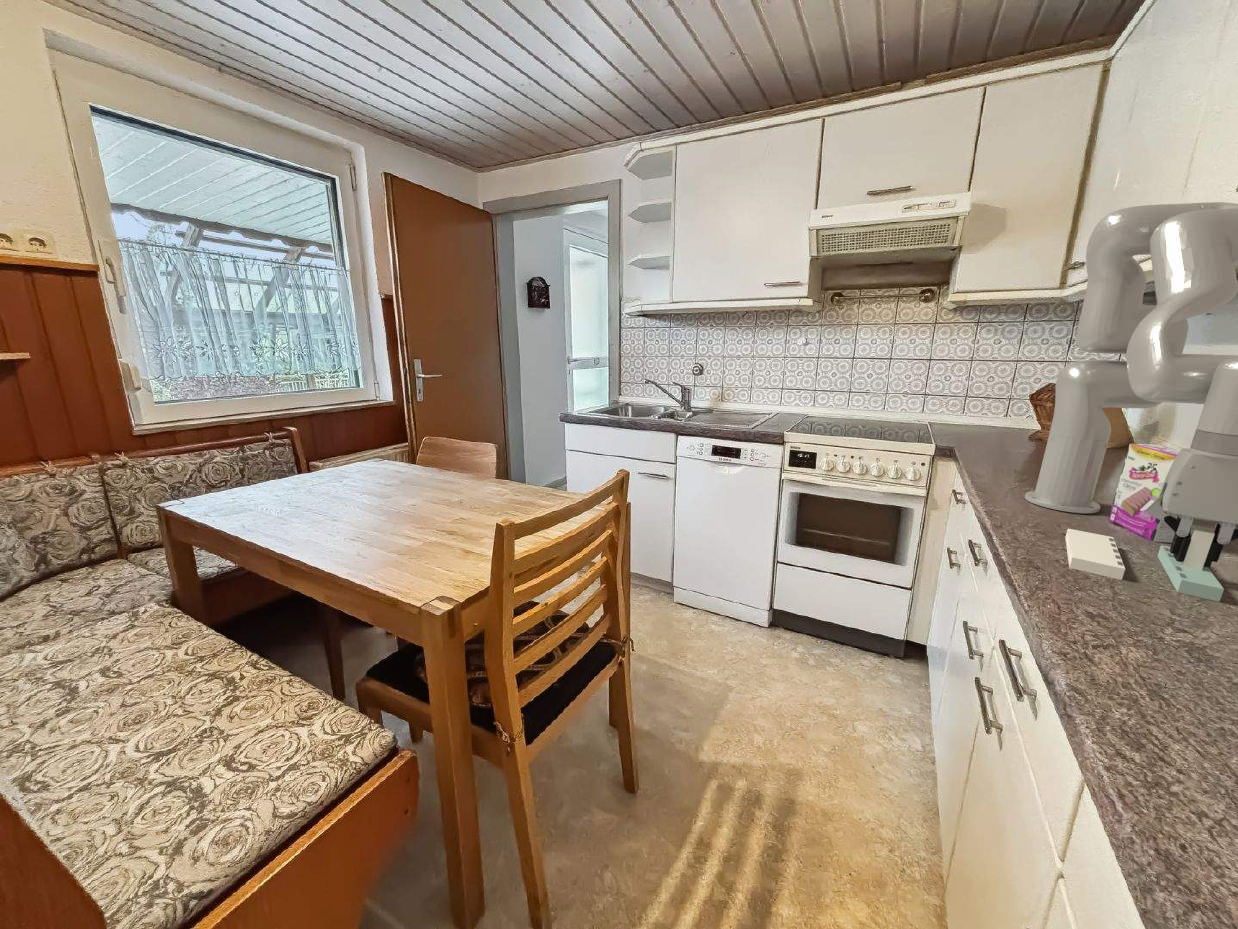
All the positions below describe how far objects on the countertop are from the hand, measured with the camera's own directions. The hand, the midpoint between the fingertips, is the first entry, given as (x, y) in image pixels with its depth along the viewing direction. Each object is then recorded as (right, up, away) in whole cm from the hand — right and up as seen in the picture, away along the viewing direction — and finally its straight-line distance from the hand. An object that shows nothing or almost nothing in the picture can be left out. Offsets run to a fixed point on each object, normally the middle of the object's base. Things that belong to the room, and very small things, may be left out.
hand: (1191, 560), depth 75 cm
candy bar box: (+12, +2, +19) cm, 22 cm away
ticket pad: (-8, -1, +7) cm, 11 cm away
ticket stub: (0, -3, +1) cm, 3 cm away
